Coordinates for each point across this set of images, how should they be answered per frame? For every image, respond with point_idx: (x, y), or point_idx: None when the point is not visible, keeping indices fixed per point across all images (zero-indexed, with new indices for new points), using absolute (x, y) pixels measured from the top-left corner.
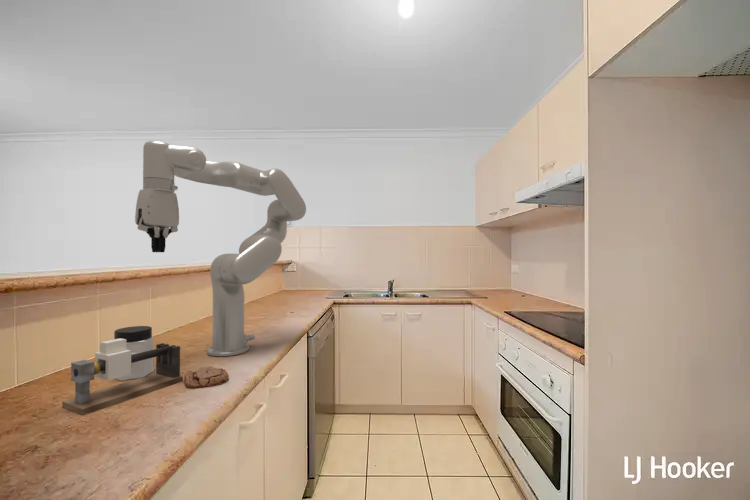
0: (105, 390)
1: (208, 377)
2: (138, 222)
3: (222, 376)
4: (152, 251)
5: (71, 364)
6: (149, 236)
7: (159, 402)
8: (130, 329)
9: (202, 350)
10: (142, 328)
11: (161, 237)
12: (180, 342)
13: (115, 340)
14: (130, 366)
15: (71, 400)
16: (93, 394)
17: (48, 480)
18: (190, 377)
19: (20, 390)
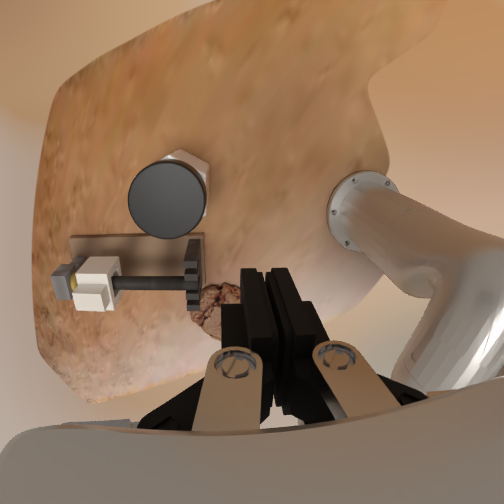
0: (111, 245)
1: (211, 334)
2: (39, 457)
3: None
4: (241, 270)
5: (51, 275)
6: (211, 359)
7: (145, 321)
8: (158, 202)
9: (352, 153)
10: (179, 215)
11: (289, 403)
12: (377, 53)
13: (90, 303)
14: (120, 296)
15: (75, 245)
16: (96, 247)
17: (54, 361)
18: (201, 310)
19: (63, 106)
